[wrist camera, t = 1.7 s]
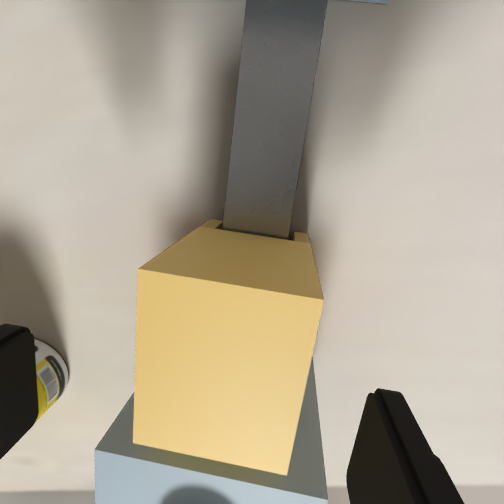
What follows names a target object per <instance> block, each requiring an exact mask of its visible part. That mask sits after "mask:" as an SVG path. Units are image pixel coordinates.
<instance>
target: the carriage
mask: <svg viewBox="0 0 504 504" xmlns="http://www.w3.org/2000/svg"><path fill="white" fill-rule="evenodd" d="M222 229H223V221H221V220H215V219H209V220H208V221H206V222H205V223H203V224H202V225H201V226H199V227H198V228H196V229H195V230H193V231H192V232H190V233H189V234H188V235H186V236H185V237H183V238H182V239H180V240H179V241H177V242H176V243H175V244H173V245H172V246H170V247H169V248H167V249H166V250H164V251H163V252H162V253H160V254H159V255H157V256H156V257H154V258H153V259H151V260H150V261H149V262H147V263H146V264H144V265H143V266H141V267H140V268H138V287H137V320H136V354H135V387H134V420H133V443H135V444H140V445H144V446H149V447H154V448H159V449H163V450H168V451H173V452H177V453H182V454H187V455H192V456H196V457H201V458H206V459H210V460H215V461H220V462H225V463H229V464H234V465H239V466H244V467H248V468H253V469H258V470H262V471H267V472H272V473H277V474H281V475H286V476H287V473H288V468H289V463H290V458H291V454H292V449H293V444H294V440H295V435H296V430H297V425H298V421H299V416H300V411H301V406H302V402H303V397H304V392H305V388H306V383H307V378H308V373H309V369H310V364H311V359H312V354H313V350H314V345H315V340H316V335H317V331H318V326H319V321H320V317H321V312H322V307H323V302H324V298H323V294H322V289H321V285H320V281H319V277H318V273H317V268H316V264H315V260H314V256H313V251H312V247H311V243H310V239H309V235H308V234H307V233H300V232H294V236H293V241H291V240H285V239H278V238H272V237H265V236H259V235H252V234H246V233H239V232H233V231H226V230H222Z"/></svg>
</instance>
